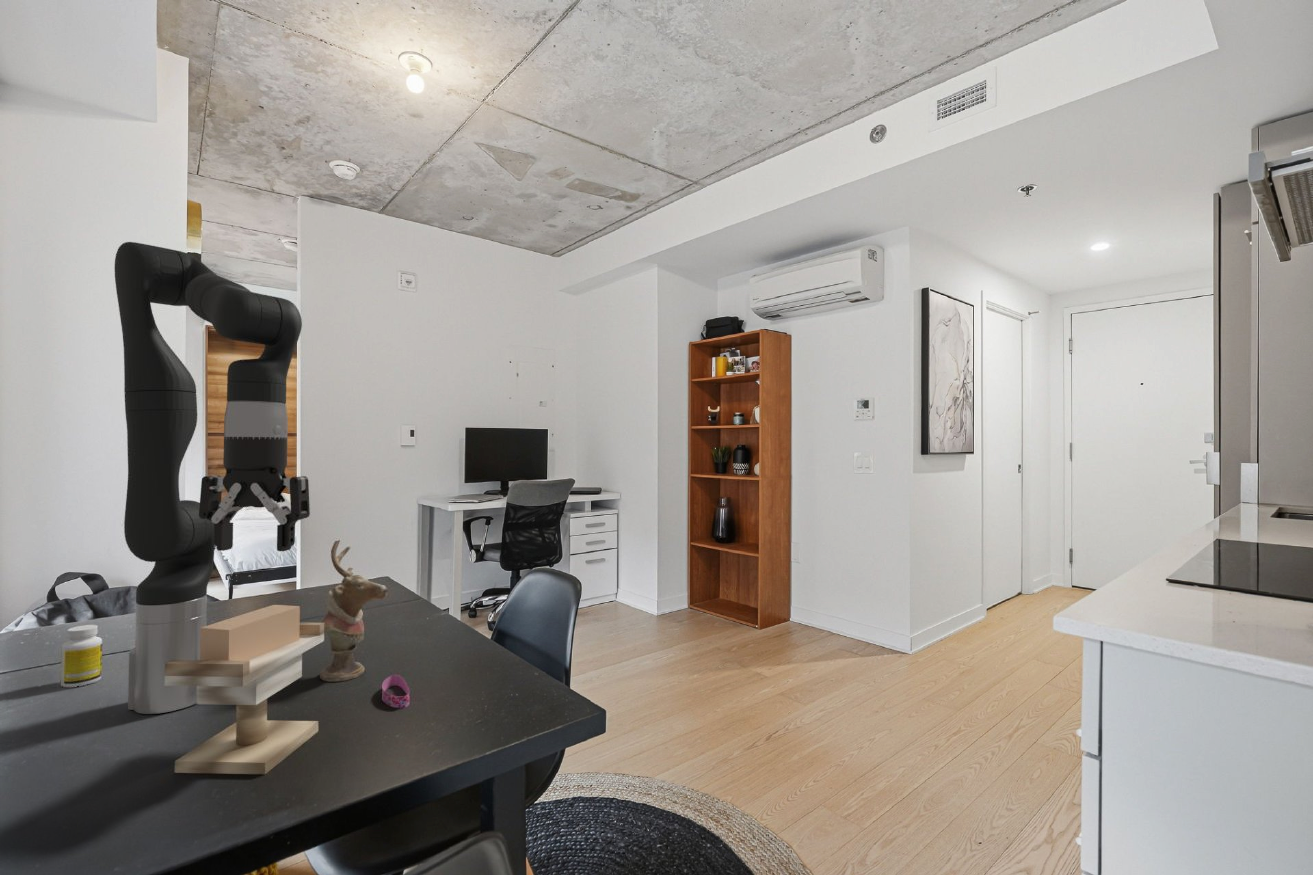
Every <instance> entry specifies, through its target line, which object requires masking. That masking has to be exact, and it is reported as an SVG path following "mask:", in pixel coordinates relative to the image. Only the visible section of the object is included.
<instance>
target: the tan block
mask: <svg viewBox="0 0 1313 875" xmlns="http://www.w3.org/2000/svg"><path fill="white" fill-rule="evenodd" d="M300 613H301V606H299V605H286V604H272V605H269V606H268V605H267V606H266V607H262V608H258V609H256V610H252V611H250V612H247V613H242V614H240V615H237V616H233V617H231V618H227V619H224V620H221V621H218V622H215V623H212V624H209V625H206V626H204V627H201V628H200V660H222V661H249V660H251V659H254V658H256V657H258V656H261V655H263V654H266V653H268V652H271V651H273V650H276V649H278V648H281V647H283V646H286V645H288V644H291V643H293V642H296V641H298V640H299V634H300V621H301V620H300V619H301V617H300V615H301V614H300Z"/></svg>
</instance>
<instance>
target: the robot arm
mask: <svg viewBox="0 0 1313 875" xmlns="http://www.w3.org/2000/svg"><path fill="white" fill-rule="evenodd" d="M115 253H116V254H115V258H114V281H115V282H114V283H115V289H116V290H115V291H116V298H117V303H118V311H119V318H120V326H121V332H122V341H123V342H122V343H123V344H122V345H123V369H124V372H123V373H124V377H123V378H124V379H123V380H124V385H123V386H124V390H123V391H124V411H125V420H126V422H125V423H126V437H127V438H126V439H127V443H126V444H127V446H126V447H127V483H126V484H127V486H126V487H127V488H126V496H125V497H126V498H125V509H124V520H123V522H124V524H123V527H124V528H123V529H124V533H123V534H124V540H125V543H126V545H127V547H128V550H129V552H131V553H132V554H133V555H134V556H135V557H136V558H138V559H139V560H141V561H144V562H147V563H149V562H150V563H154V566H153V568H152V570H151V571H150V573H149V574H148V575H147V577H145V578H144V580H142V581H141V582H140V583H139V584H138V585H137V587H136V590H135V591H136V593H135V638H134V639H135V647H133V648H131V649H130V650H129V651H128V678H127V679H128V685H127V686H128V688H127V689H128V690H127V692H128V693H127V694H128V696H127V697H128V698H127V709H128V710H131V711H132V710H133V711H134V712H135V713H138V714H141V715H142V714H143V715H154V714H163V713H168V712H174V711H177V710H178V711H179V710H182V709H184V708H185V709H186V708H189V707H190V706H193V705H196V704H197V686H165V663H166V662H169V661H171V660H200V628H201V627H204V626H207V604H208V603H207V602H208V600H207V597H208V596H207V595H208V594H207V593H208V584H209V582H210V580H211V578H212V576H213V571H214V562H215V560H214V558H215V547H216V550H217V551H221V552H223V551H228V550H232V549H233V546H234V522H231V521H232V519H233V518H235V516H236V514H238V512H239V511H241V510H242V509H243V508H249V507H250V508H251V507H252V508H258V509H259V508H260V509H261V508H265V509H266V511H267V512H269V513H271V514H272V515H273V517H274V518H275V519H276V520H277V522H278V523H279V524H277V526H276V528H277V529H276V530H277V532H276V550H277V551H278V552H286V551H290V550H291V549H292V547H293V546H294V545H295V542H296V523H297V522H299V521H301V520H303V519H307V518H309V517H310V515H311V513H310V512H311V511H310V510H311V507H310V488H309V487H310V486H309V485H310V484H309V478H308V477H307V476H306V475H305V476H304V475H302V476H293V477H287V475H286V468H287V465H288V433H289V432H288V430H289V427H288V426H289V423H288V422H289V421H288V420H289V419H288V418H289V417H288V412H287V377H288V373H289V370H290V369H289V368H290V365H291V364H292V363H291V362H292V358H293V355H294V354H295V353H294V352H295V349H296V346H297V344H298V341H299V339H300V336H301V332H302V328H303V324H302V322H303V319H302V316H301V313H300V311H299V309H298V307H297V306H296V304H295V303H293V302H292V301H291V300H289V299H286V298H283V297H278V296H272V295H267V294H264V293H257V292H253V291H251V290H250V289H248V288H247V287H245V286H243V285H241V284H239V283H237V282H234V281H232V280H230V279H227V278H225V277H222V276H220V275H218V274H217V273H215V272H214V271H213V270H212V269H210V268H209V267H208V266H207V265H206V264H205V263H203V262H202V261H201V260H200V259H199V258H196V257H195V256H193V255H192V254H189V253H187V252H184V251H182V250H181V251H180V250H176V249H172V248H166V247H162V246H156V245H151V244H148V243H147V244H146V243H141V242H134V241H125V242H123V243H122V244H120V245H119V246H118V248H117V251H116V252H115ZM152 304H159V305H165V306H173V307H183V306H184V307H188V308H189V309H190V311H192V312H193V313H194V314H195V315H196V316H197V317H199V318H200V319H202V320H204V321H205V322H207V323H210V324H211V325H212V326H213V328H214V331H215V332H216V333H217V334H218V335H219V336H221V337H223V338H225V339H228V340H232V341H237V342H242V343H243V342H244V343H250V344H251V343H252V344H258V345H264V349H263V351H262V353H261V354H260V356H259V357H257V358H246V359H245V358H244V359H237V360H233V361H232V362H231V363H230V364H229V365H228V367H227V373H226V374H227V376H226V377H227V378H226V379H227V381H226V382H227V383H226V385H227V386H226V407H225V411H224V412H225V413H224V421H223V422H224V423H223V461H222V462H223V463H222V466H223V467H224V468H225V470H226V471H225V475H224V476H222V475H218V474H217V475H206V476H202V478H201V481H200V482H201V483H200V498H199V501H196V500H189V499H187V500H186V499H184V500H183V499H181V498H180V486H179V485H180V484H179V483H180V469H181V465H182V462H183V459H184V457H185V455H186V452H187V450H188V448H189V447H190V443H191V441H192V439H193V436H194V434H195V431H196V428H197V425H198V424H197V423H198V402H197V401H198V400H197V399H198V398H197V386H196V381H195V379H194V378H193V375H192V374H191V372H190V371H189V370H188V368H187V367H186V366H185V364H184V363H183V362H182V361H181V359H180V358H179V357H178V356H177V354H176V353H175V351H174V350H173V349H172V348H171V347H170V345H169V344H168V343H167V341H166V340H165V339H164V337H163V336H162V334H161V332H160V330H159V328H158V325H157V323H156V320H155V317H154V314H153V310H152ZM224 489H225V490H226V492H227V494H226V495H225V496H224V498H223V499H222V494H223V493H222V491H224ZM285 489H286V490H287V491H288V493H289V497H290V498H289V500H290V501H289V500H288V498H287V497H286V495H285V494H284V493H283V492H284V491H285Z"/></svg>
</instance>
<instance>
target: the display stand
mask: <svg viewBox="0 0 1313 875" xmlns="http://www.w3.org/2000/svg"><path fill="white" fill-rule="evenodd" d="M324 641H325V633H324V623H321V622H303V621H302V622H300V634H299V640H298V641H296V642H293V643H291V644H288V645H286V646H283V647H281V648H278V649H276V650H273V651H271V652H268V653H266V654H263V655H261V656H258V657H256V658H254V659H251V660H249V661H222V660H171V661H169V662H166V663H165V686H197V703H196V705H219V706H221V705H224V706H225V705H228V706H229V705H230V706H231V705H232V706H236V708H235V709H236V711H235V712H236V715H235V718H236V719H235V721H236V722H234V723H233V724H231V725H229V726H228V727H226V728H224V729H222V731H220V732H218V733H217V734H215V735H213V736H212V737H209V739H207V740H206V741H204V742H203V743H201V744H200V745H198V746H195V747H194V748H193V749H192V750H190V751H189V752H187V753H186V754H184V755H183V756H181V757H179V758H177V759H176V760H175V761H174V773H176V774H181V773H182V774H222V775H223V774H225V775H227V774H228V775H230V774H231V775H232V774H233V775H266V774H267V773H269V772H270V771H271V770H273V769H274V768H275V767H276V766H277V765H279V764H280V763H281V762H282V761H283V760H285V759H286V758H287V757H288V756H290V755H291V754H292V753H293V752H295V751H296V750H297V749H299V748H300V747H301V746H302V745H303V744H305V743H306V742H307V741H309V740H310V739H311V738H312V737H313V736H315V735H316V734H317V733H318V732H319V721H318V720H268V698H270V697H272V696H273V695H275V694H277V692H280V691H281V690H283V689H284V688H286V687H288V686H289V685H290V684H292V683H294V682H296V681H297V680H299V679H300V678H302V677H303V654H304V653H306V652H307V651H309V650H311V649H313V648H315V646H317V645H319V644H321V643H323V642H324Z"/></svg>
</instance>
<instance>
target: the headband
mask: <svg viewBox="0 0 1313 875" xmlns="http://www.w3.org/2000/svg"><path fill="white" fill-rule="evenodd" d="M393 686H398V687H400V688H401V689H402V690H403V692H404V693H405V695H403V696H401V695H400V696H397V695H392V694H389V693H388V692H386V690H388V689H389V688H390V687H393ZM381 700H382V701H383V702H384V703H385V705H387V706H390V707H392V708H397V709H404V708H407V707H408V706H410V688H409V686H408V684H407V682H406V680H405V679H404V678H403V677H402V676H401V675H399V674H392V675H390V676H388V677H386V678H385V679H384V680H383V682H382V685H381Z"/></svg>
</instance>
